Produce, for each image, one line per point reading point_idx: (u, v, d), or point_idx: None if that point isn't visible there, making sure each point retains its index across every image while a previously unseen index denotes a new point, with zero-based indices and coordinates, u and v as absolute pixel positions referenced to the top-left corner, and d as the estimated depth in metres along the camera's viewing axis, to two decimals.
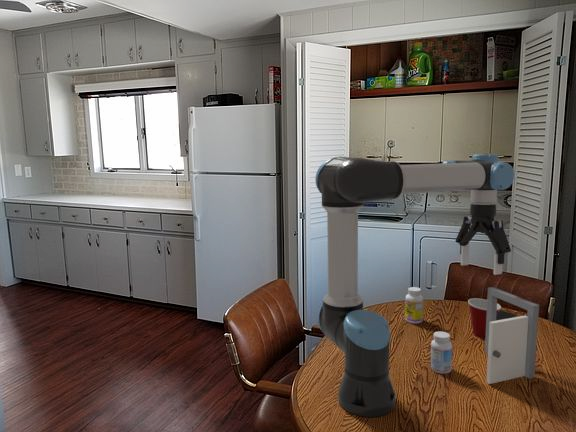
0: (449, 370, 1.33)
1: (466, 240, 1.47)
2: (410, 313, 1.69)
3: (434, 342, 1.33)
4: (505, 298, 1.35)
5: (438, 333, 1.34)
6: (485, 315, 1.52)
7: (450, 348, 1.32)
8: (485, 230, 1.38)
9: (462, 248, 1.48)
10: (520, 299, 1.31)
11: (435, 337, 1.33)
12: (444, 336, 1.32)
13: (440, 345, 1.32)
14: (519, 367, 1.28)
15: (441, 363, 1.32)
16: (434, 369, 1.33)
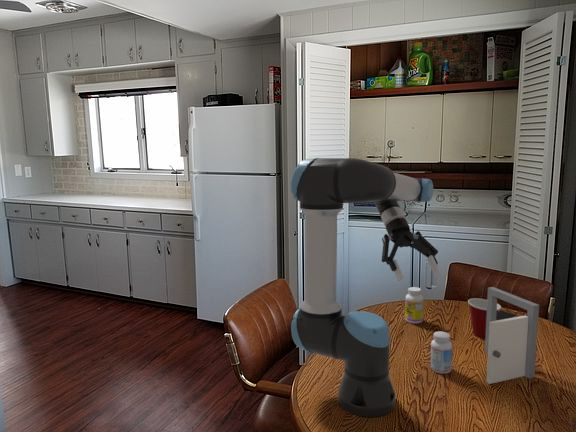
0: (449, 370, 1.33)
1: (394, 255, 1.45)
2: (410, 313, 1.69)
3: (434, 342, 1.33)
4: (505, 298, 1.35)
5: (438, 333, 1.34)
6: (485, 315, 1.52)
7: (450, 348, 1.32)
8: (413, 239, 1.50)
9: (396, 261, 1.43)
10: (520, 299, 1.31)
11: (435, 337, 1.33)
12: (444, 336, 1.32)
13: (440, 345, 1.32)
14: (519, 367, 1.28)
15: (441, 363, 1.32)
16: (434, 369, 1.33)
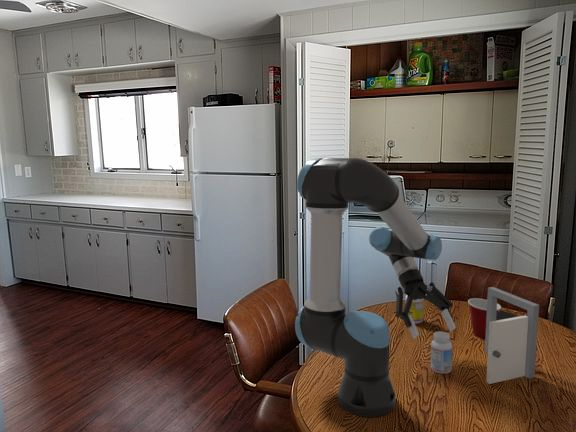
0: (449, 370, 1.33)
1: None
2: (410, 313, 1.69)
3: (434, 342, 1.33)
4: (505, 298, 1.35)
5: (438, 333, 1.34)
6: (485, 315, 1.52)
7: (450, 348, 1.32)
8: (427, 291, 1.45)
9: (411, 317, 1.39)
10: (520, 299, 1.31)
11: (435, 337, 1.33)
12: (444, 336, 1.32)
13: (440, 345, 1.32)
14: (519, 367, 1.28)
15: (441, 363, 1.32)
16: (434, 369, 1.33)
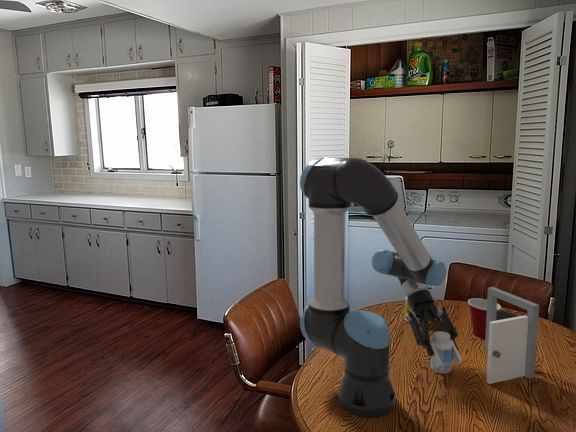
0: (449, 370, 1.33)
1: None
2: None
3: (434, 342, 1.33)
4: (505, 298, 1.35)
5: (438, 333, 1.34)
6: (485, 315, 1.52)
7: (450, 348, 1.32)
8: (437, 315, 1.39)
9: (433, 345, 1.32)
10: (520, 299, 1.31)
11: (435, 337, 1.33)
12: (444, 336, 1.32)
13: (440, 345, 1.32)
14: (519, 367, 1.28)
15: None
16: (434, 369, 1.33)
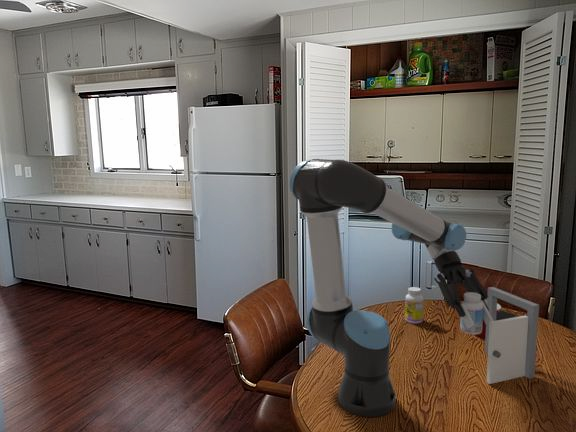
0: (480, 331, 1.29)
1: None
2: (410, 313, 1.69)
3: (464, 303, 1.30)
4: (505, 298, 1.35)
5: (468, 293, 1.31)
6: None
7: (481, 308, 1.28)
8: (465, 276, 1.35)
9: (464, 306, 1.29)
10: (520, 299, 1.31)
11: (466, 297, 1.29)
12: (475, 296, 1.28)
13: (471, 305, 1.28)
14: (519, 367, 1.28)
15: None
16: (464, 330, 1.30)
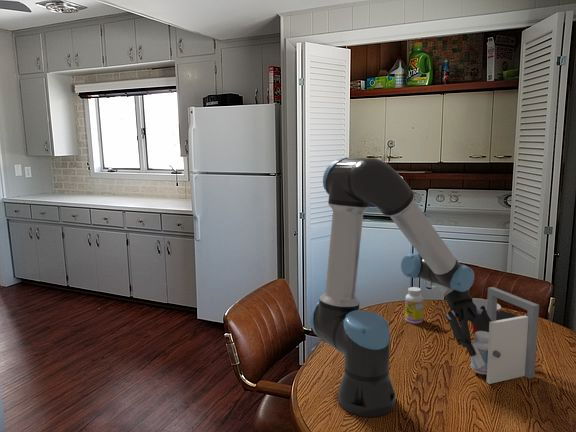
0: None
1: None
2: (410, 313, 1.69)
3: (475, 342, 1.30)
4: (505, 298, 1.35)
5: (479, 333, 1.31)
6: None
7: None
8: (477, 314, 1.35)
9: (474, 345, 1.29)
10: (520, 299, 1.31)
11: (477, 337, 1.29)
12: (487, 336, 1.28)
13: (482, 345, 1.28)
14: (519, 367, 1.28)
15: None
16: (475, 369, 1.30)
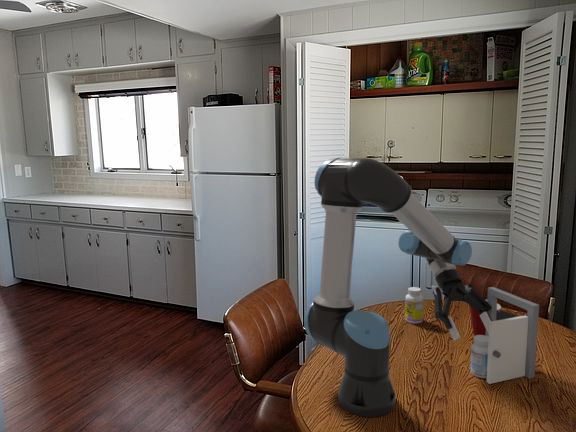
0: None
1: None
2: (410, 313, 1.69)
3: (475, 346, 1.30)
4: (505, 298, 1.35)
5: (478, 337, 1.31)
6: None
7: None
8: (466, 292, 1.41)
9: (451, 319, 1.35)
10: (520, 299, 1.31)
11: (476, 341, 1.30)
12: (486, 340, 1.29)
13: (481, 349, 1.28)
14: (519, 367, 1.28)
15: (482, 367, 1.29)
16: (475, 373, 1.30)
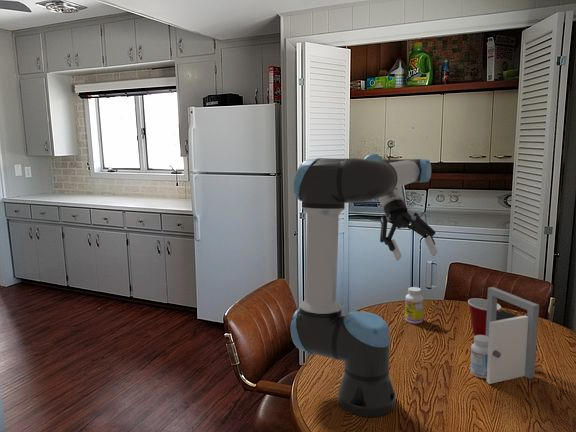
0: None
1: (392, 235, 1.47)
2: (410, 313, 1.69)
3: (475, 346, 1.30)
4: (505, 298, 1.35)
5: (478, 337, 1.31)
6: (485, 315, 1.52)
7: None
8: (411, 220, 1.51)
9: (394, 241, 1.44)
10: (520, 299, 1.31)
11: (476, 341, 1.30)
12: (486, 340, 1.29)
13: (481, 349, 1.28)
14: (519, 367, 1.28)
15: (482, 367, 1.29)
16: (475, 373, 1.30)
